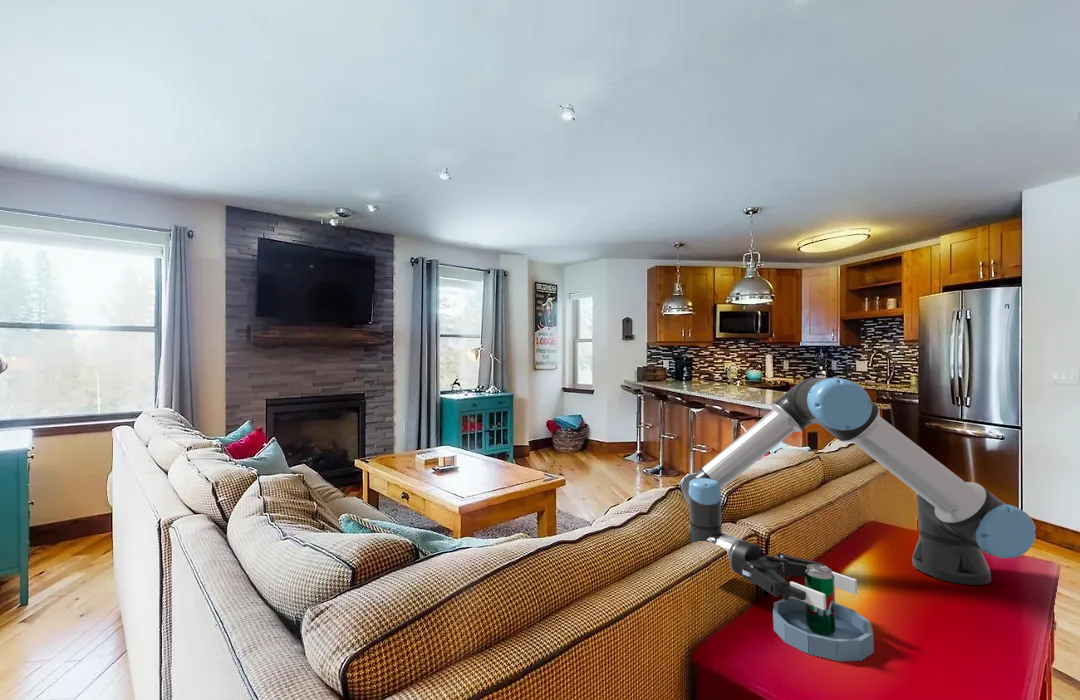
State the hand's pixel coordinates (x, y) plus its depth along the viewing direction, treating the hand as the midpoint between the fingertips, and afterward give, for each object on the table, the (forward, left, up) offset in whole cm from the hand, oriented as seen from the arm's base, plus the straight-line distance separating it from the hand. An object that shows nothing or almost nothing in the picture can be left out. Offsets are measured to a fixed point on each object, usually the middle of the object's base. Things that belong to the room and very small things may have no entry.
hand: (840, 594), depth 90 cm
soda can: (0, -4, -9) cm, 10 cm away
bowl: (0, -4, -10) cm, 10 cm away
